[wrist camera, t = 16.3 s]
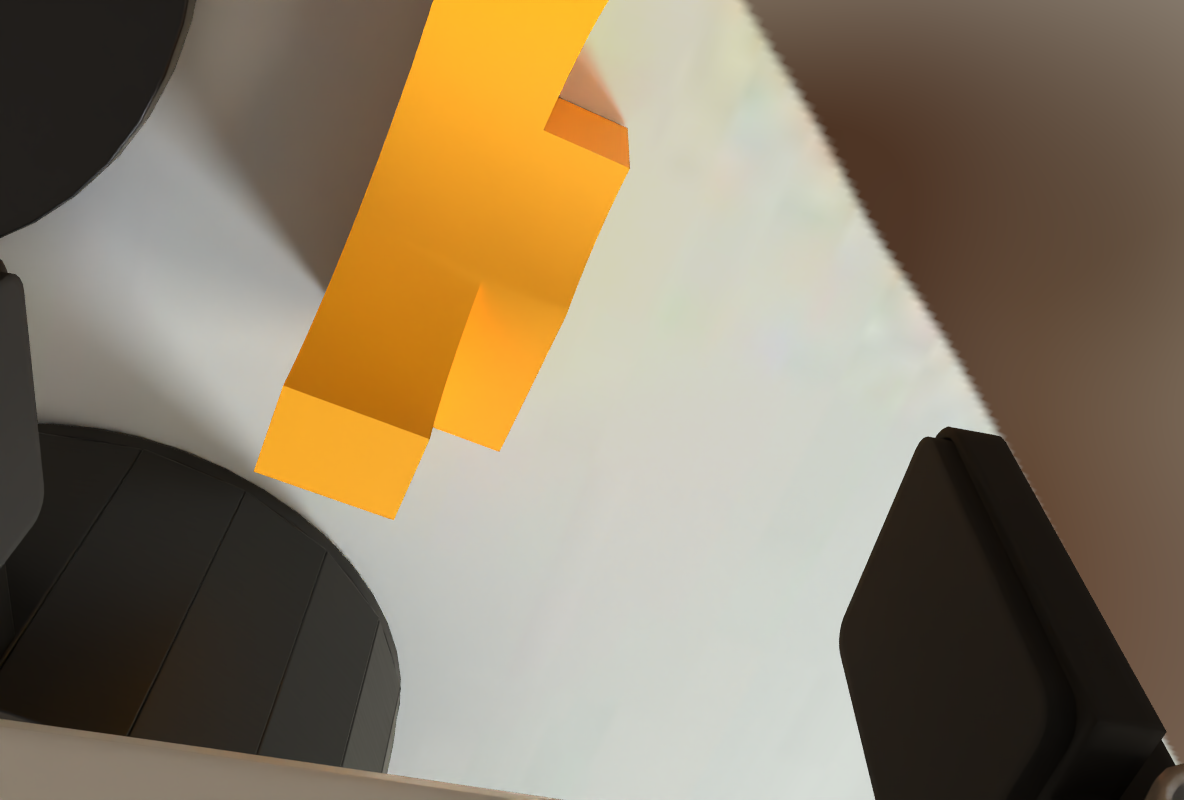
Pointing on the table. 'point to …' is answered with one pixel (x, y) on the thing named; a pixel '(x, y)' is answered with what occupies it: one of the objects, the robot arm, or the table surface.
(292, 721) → the pot
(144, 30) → the lid
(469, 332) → the orange stepped block
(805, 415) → the table surface
